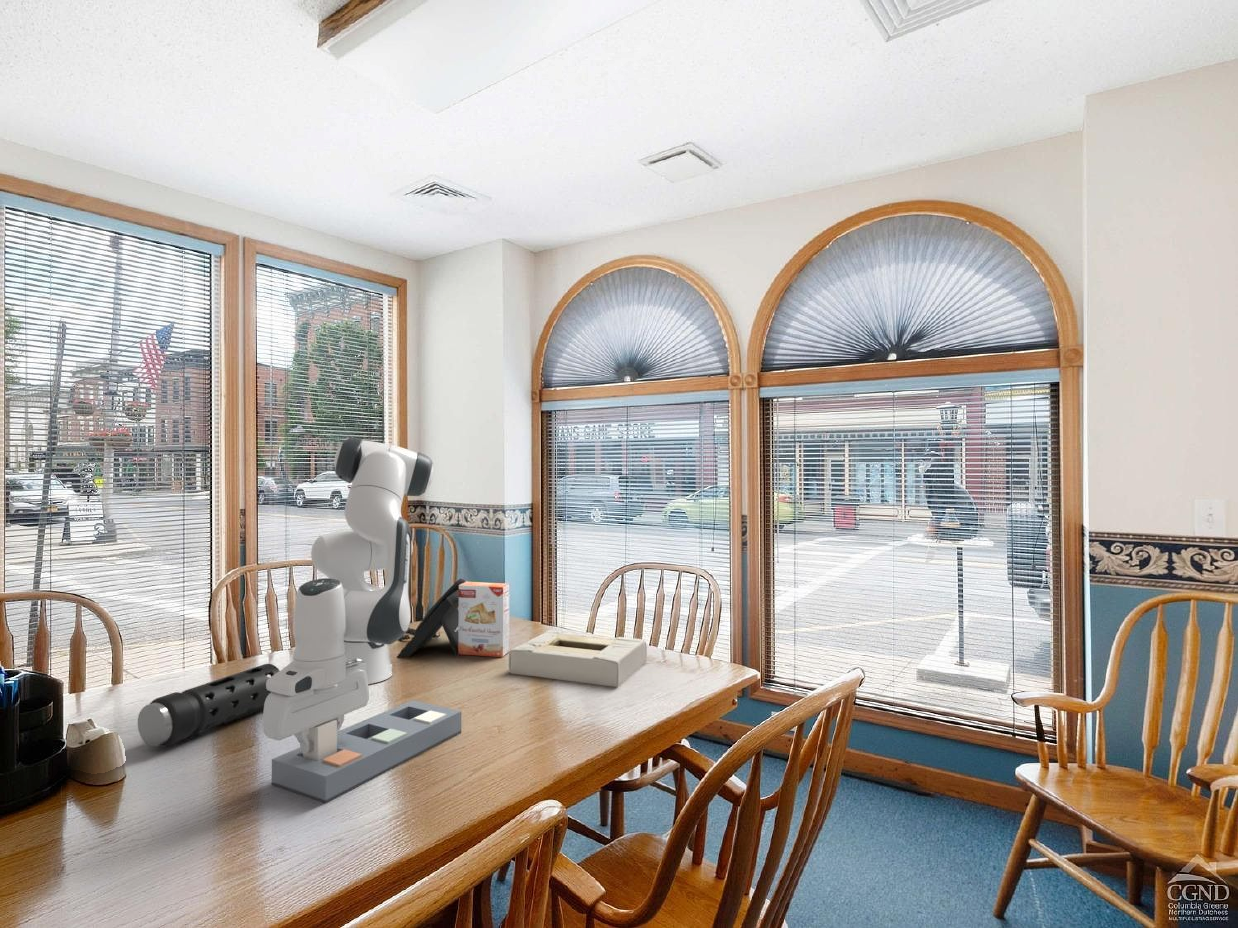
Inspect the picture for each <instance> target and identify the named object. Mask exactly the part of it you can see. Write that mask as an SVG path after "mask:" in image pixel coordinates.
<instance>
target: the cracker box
mask: <svg viewBox="0 0 1238 928" xmlns="http://www.w3.org/2000/svg"><path fill="white" fill-rule="evenodd" d="M510 585H511V584H510V583H501V582H482V581H480V582H479V581H465V583H462V584H460V585H459V607H458V612H459V628H458V654H459V655H466V656H480V657H491V658H492V657H494V658H503V657H505V656H506V655H507V654H509V652H510Z"/></svg>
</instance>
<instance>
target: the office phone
mask: <svg viewBox="0 0 1238 928" xmlns="http://www.w3.org/2000/svg"><path fill="white" fill-rule="evenodd" d="M465 582H466V580H465V579H463V578H460V579H457V580H456V581H455V582H454V583H453V584H452V585H451V586H450V587H449V588H448V590H446V591H445V592H444V593H443V595H442V596H441V597H439V599H438V600H437V601H436V602H435V603H434V604H433V606H432V607H431V608H430V609H429V610H428V611H427V613H426V614H425V615H424V616H423V619H422V620H421V621H420V622H419V624H418V626H417V627H416V629H415V628H410V627H409V629H408V631H407V632H406V633H407V634H404V635H403V636H402V637H401V638H400V639H399V640H401V641H405V640H409V642H407V644H405V646H404V647H403V648H402V649H401V650H400V652H399V653H398V655H397V656H396V658H404V659H406V658H410V657H411V656H412V655H413V654H415V653H416V652H417V651H418V650H419V649H421V648H422V647H423V646H424V645H425V644H427V643H428V642H429V641H431V640H432V638H435V639H437V638H439V637H440V636H441V634H440V632H439V631H440V629H441V628H442V629H443V630H444V632H445V635H446V637H447V639H448V640H449V641H448V642H449V643H450V646H451V648H452V650H453V652H454V654H455V656H456V657H458V656H459V655H460V654H458V628H459V585H460V584H462V583H465ZM409 633H410V634H414V635H413V637H410V635H409ZM437 633H438V634H437Z"/></svg>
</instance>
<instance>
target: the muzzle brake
mask: <svg viewBox="0 0 1238 928" xmlns="http://www.w3.org/2000/svg"><path fill="white" fill-rule="evenodd" d="M279 671H281V670H280V669H279V668H278V666H276V665H275V664H272V663H264V664H260V665H258V666H256V667H253V668H252V667H251V668H249V669H246V670H243V671H239V672H236V673H234V674H231V675H228V676H225V677H222V678H218V679H216V680H212V681H209V682H207V683H204V684H201V685H198V686H194V687H191V688H188V689H185V690H183V691H182V692H178V691H177V692H171V693H169V694H165V695H162V696H160V697H156V698H155V699H153V700H152V701H151V702H150V703H149V704H147V705H145V706H143V707H142V708H141V710H140V711H139V713H138V718H137V729H138V733H139V736H140V737H141V740H142V741H143V742H144V743H145V744H146V745H148V746H149V747H152V748H153V747H154V748H155V747H158V746H159V747H160V746H164V747H168V746H170V745H173V744H175V743H177V742H182V743H185V742H187V741H190V740H192V739H194V738H197V737H199V736H200V734H201V732H202V731H205V730H207V729H210V728H213V727H215V726H218V725H227V724H228V723H230V722H231V721H237V720H239V719H242V718H244V717H247V716H249V715H252V714H254V713H257V712H259V711H262V710H264V703H265V700H266V698H267V696H268V695H269V694H270V693H271V691H268V690H267V689H266V682H267V680H268V679H269V678H270V677H272V676H273V675H275V674H276V673H278V672H279ZM269 676H270V677H269ZM231 704H232V705H231Z"/></svg>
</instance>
